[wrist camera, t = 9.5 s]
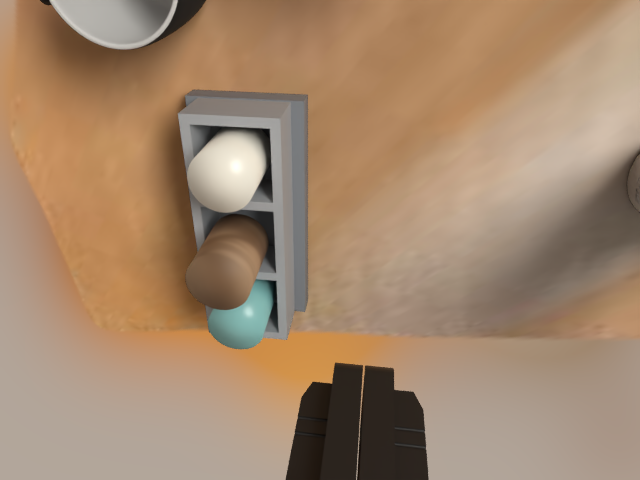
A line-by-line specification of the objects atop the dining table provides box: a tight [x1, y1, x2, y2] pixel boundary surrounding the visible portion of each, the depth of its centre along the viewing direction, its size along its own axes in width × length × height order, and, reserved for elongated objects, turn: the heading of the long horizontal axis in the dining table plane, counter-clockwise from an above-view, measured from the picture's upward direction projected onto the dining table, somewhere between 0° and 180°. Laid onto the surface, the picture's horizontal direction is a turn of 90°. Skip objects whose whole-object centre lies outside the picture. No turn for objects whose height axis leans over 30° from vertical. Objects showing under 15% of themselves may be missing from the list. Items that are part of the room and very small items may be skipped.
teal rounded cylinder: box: [208, 279, 277, 349], centre depth 45 cm, size 5×5×6 cm
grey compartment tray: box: [178, 90, 308, 340], centre depth 44 cm, size 10×22×6 cm, turn 179°
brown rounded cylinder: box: [185, 214, 269, 310], centre depth 39 cm, size 5×5×6 cm
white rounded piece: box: [187, 126, 271, 213], centre depth 38 cm, size 5×5×6 cm
